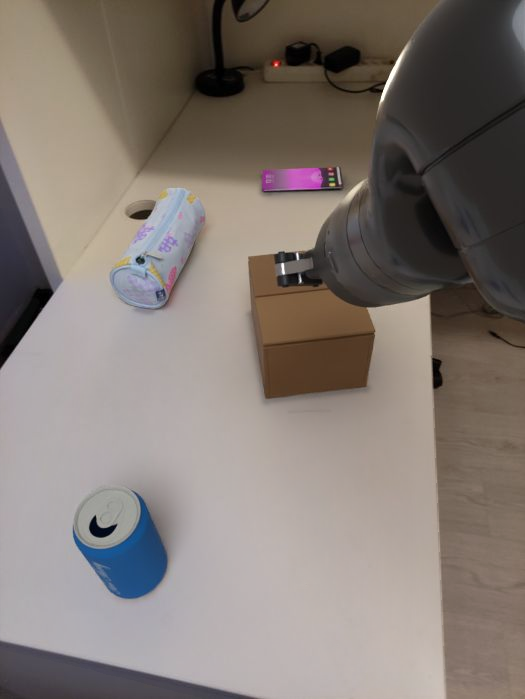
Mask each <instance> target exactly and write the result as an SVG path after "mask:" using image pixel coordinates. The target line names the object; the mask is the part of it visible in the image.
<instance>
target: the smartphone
mask: <svg viewBox="0 0 525 699" xmlns="http://www.w3.org/2000/svg"><path fill="white" fill-rule="evenodd" d="M341 168H342V167H341V166H333V167H331V166H329V167H309V168H307V167H306V168H286V169H285V168H284V169H262V174H261V175H262V176H261V177H262V178H261V179H262V180H261V190H262V192H265V193H266V192H289V191H315V190H318V191H319V190H341V189H343V188H344V182H343V175H342V169H341Z"/></svg>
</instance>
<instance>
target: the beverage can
mask: <svg viewBox="0 0 525 699" xmlns="http://www.w3.org/2000/svg"><path fill="white" fill-rule="evenodd" d="M72 537H73V542H74V544H75V545H76V548H78V550H79V551H80V553H81V554H82V555H83V557H84V558H85V560H86V562H87V563H88V564H89V565H90V566H91V568H92V569H93V571H94V572H95V574H96V575H97V576H98V577H99V580H101V582H102V583H103V585H104V586H105V587H106V589H107V590H108V591H109V592H110V593H111V594H113V595H114V596H115V597H117V598H121V599H126V600H128V599H129V600H133V599H137V598H141V597H143V596H146V595H148V594H149V593H151V592H152V591H153V590H154V589H155V588H156V587H157V586H159V585H160V583H161V581H162V580H163V579H164V577H165V574H166V571H167V565H168V553H167V550H166V548H165V544H164V543H163V541H162V538H161V536H160V534H159V532H158V529H157V527H156V524H155V522H154V520H153V517H152V515H151V512H150V510H149V508H148V505H147V503H146V501H145V499H144V498H143V497H142V496H141V495H140V494H139V493H137V492H136V491H134V490H133V489H130V488H128V487H126V486H123V485H119V484H109V485H104V486H101V487H99V488H96V489H94V490H92V491H91V492H90V493H88V494H87V495H85V497H83V499H82V500H81V502H80V503H79V504H78V506H77V507H76V510H75V512H74V516H73V522H72Z"/></svg>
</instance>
